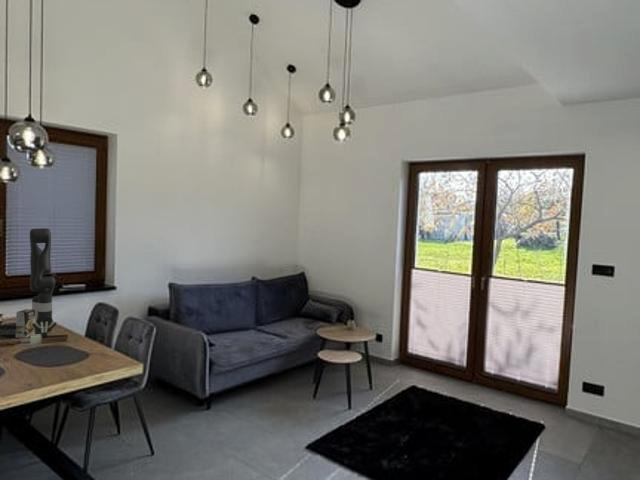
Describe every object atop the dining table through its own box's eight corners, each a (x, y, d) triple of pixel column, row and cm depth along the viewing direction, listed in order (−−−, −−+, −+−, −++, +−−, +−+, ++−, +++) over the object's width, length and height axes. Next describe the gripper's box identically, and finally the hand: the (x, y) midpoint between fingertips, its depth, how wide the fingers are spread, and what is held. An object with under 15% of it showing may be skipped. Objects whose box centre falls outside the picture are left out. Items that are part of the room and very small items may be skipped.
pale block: (30, 341, 271) (30, 334, 270) (40, 340, 273) (40, 334, 273) (30, 343, 266) (30, 336, 266) (40, 342, 269) (40, 336, 268)
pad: (22, 340, 272) (22, 339, 272) (43, 339, 277) (43, 338, 277) (19, 346, 262) (19, 345, 261) (41, 345, 266) (41, 344, 266)
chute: (43, 339, 277) (43, 334, 277) (67, 338, 283) (68, 333, 283) (41, 345, 266) (41, 339, 266) (66, 343, 272) (66, 338, 272)
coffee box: (25, 338, 278) (26, 312, 277) (15, 337, 278) (15, 311, 277) (35, 334, 287) (35, 309, 286) (25, 333, 287) (25, 308, 286)
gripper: (58, 308, 277) (57, 336, 278) (32, 309, 271) (32, 337, 272) (57, 310, 271) (56, 339, 271) (31, 311, 265) (30, 340, 266)
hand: (44, 338), depth 272 cm, fingers closed
